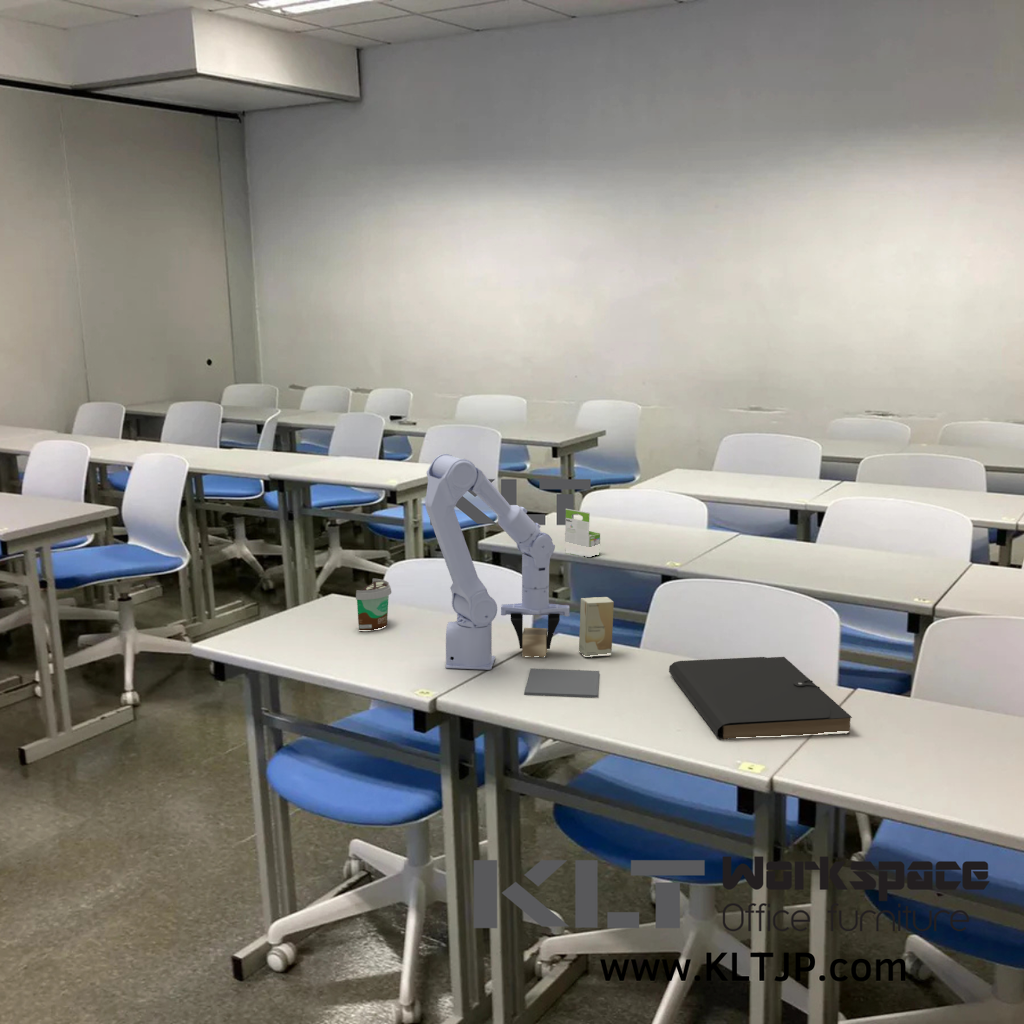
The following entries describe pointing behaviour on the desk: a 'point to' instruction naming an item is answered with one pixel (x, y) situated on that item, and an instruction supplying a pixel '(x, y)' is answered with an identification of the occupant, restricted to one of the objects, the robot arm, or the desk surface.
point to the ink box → (580, 530)
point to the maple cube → (534, 642)
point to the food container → (373, 605)
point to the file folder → (758, 697)
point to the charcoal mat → (562, 683)
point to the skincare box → (596, 626)
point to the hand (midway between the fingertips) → (534, 647)
